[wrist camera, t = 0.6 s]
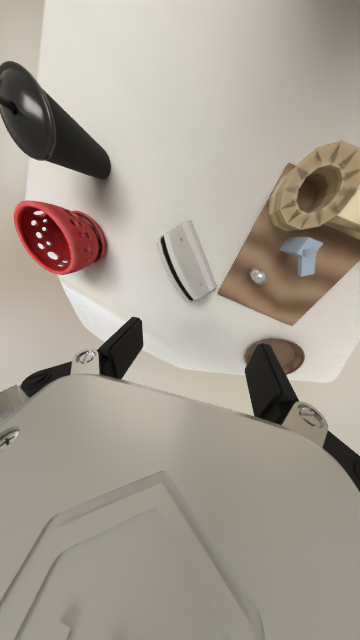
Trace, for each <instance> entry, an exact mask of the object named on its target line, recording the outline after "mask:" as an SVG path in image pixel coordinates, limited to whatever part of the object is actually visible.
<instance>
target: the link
mask: <svg viewBox="0 0 360 640" xmlns="http://www.w3.org/2000/svg"><path fill="white" fill-rule="evenodd" d="M305 180H306V181H309V182H311V183H313V185H314V187H315V190H316V193H315V198H314V202H313V203H312V204H311V206H310V207H309V209H308V210H307V211H306V212H304V211H301V210H300V209H299V207H298V204H297V202H296V200H297V195H298V189H299V188H300V186H301V185H302V183H303V181H305ZM359 183H360V149H359V148H358V147H356V146H353V145H351V144H349V143H346V142H344V141H337V142H334V143H331V144H328V145H325V146H321V147H318V148H316V149H315V150H314V151H313V152H312V153H311V154H309V155H308V156H307V157H306V158H305V159H304V160H303V161H301V162H300V163H299V164H298V165H297V166H296V167H295V168H293V169H292V170H291V171H290V172H289V173H288V174H287V175H286V176H285V177H283V178H282V179H281V180H280V181H279V183H278V184H277V186H276V188H275V190H274V192H273V194H272V195H271V197H270V200H269V210H268V216H269V218H270V220H271V222H272V224H273V226H274V227H276V228H279V229H281V230H283V231H293V230H302V229H307V228H313V227H318V226H321V225H322V224H324V225H327V226H329V227H331V228H334V229H336V230H338V231H341V232H343V233H346V234H348V235H350V236H353V237H355V238H357V239H360V190H359V189H358V186H359Z"/></svg>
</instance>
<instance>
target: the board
mask: <svg viewBox="0 0 360 640" xmlns="http://www.w3.org/2000/svg"><path fill="white" fill-rule="evenodd" d="M295 167H296V166H295V165H292V164H290V163H289V164H288V165H287V166H286V168H285V170H284V171H283V173H282V175H281V177H280V179H279V181H280V180H281V179H282V178H283V177H285V176H286V175H287V174H288V173H289V172H290V171H291V170H292V169H293V168H295ZM279 181H278V182H277V184H278V183H279ZM277 184H276V186H277ZM276 186H275V188H276ZM275 188H274V190H275ZM274 190H273V192H274ZM273 192H272V193H271V195H272V194H273ZM315 193H316V190H315V187H314V185H313V183H311V182H309V181H306V180H305V181H303V183H302V185H301V186H300V188H299V189H298V195H297V200H296V202H297V204H298V207H299V209H300V210H301V211H304V212H306V211H307V210H308V209H309V207H310V206H311V204H312V203H313V202H314V198H315ZM271 195H270V197H271ZM270 197H269V199H268V201H267V203H266V205H265V206H264V208H263V210H262V212H261V214H260V216H259V217H258V219H257V221H256V223H255V225H254V227H253V228H252V230H251V232H250V234H249V236H248V238H247V240H246V241H245V243H244V245H243V247H242V249H241V251H240V252H239V254H238V256H237V258H236V260H235V262H234V263H233V265H232V267H231V269H230V271H229V273H228V274H227V276H226V278H225V280H224V282H223V284H222V286H221V287H220V289H219V291H218V294H220V295H222V296H224V297H227V298H229V299H231V300H234V301H236V302H238V303H241V304H243V305H245V306H248V307H250V308H252V309H255V310H257V311H259V312H262V313H264V314H266V315H269V316H271V317H273V318H275V319H278V320H280V321H282V322H285V323H287V324H289V325H292V326H293V325H294V324H295V323H296V322H297V321H298V320H299V319H300V318H301V317H302V316H303V315H304V314H305V313H306V312H307V311H308V310H309V309H310V308H311V307H312V306H313V305H314V304H315V303H316V302H317V301H318V300H319V299H320V298H321V297H322V296H323V295H324V294H325V293H327V292H328V291H329V290H330V289H331V288H332V287H333V286H334V285H335V284H336V283H337V282H338V281H339V280H340V279H341V278H342V277H343V276H344V275H345V274H346V273H347V272H348V271H349V270H350V269H351V268H352V267H353V266H354V265H355V264H356V263H357V262H358V261H359V260H360V239H357V238H355V237H353V236H350V235H348V234H346V233H343V232H341V231H338V230H336V229H334V228H331V227H329V226H327V225H324V224H322V225H321V226H318V227H313V228H307V229H302V230H293V231H283V230H281V229H279V228H276V227H274V226H273V224H272V222H271V220H270V218H269V216H268V210H269V200H270ZM288 237H310V238H312V239H315V240H317V241H319V242H322V243H323V245H322V246H321V247H320V248H319V249H318V251H317V252H316V262H315V272H314V274H311V275H307V276H303V277H301V276H298V259H299V257H298V256H294V255H290V254H287V253H285V252H283V251H280V250H279V249H280V248H281V246H282V245H283V244H284V242H285V241H286V239H287V238H288ZM251 266H256V267H258V268H259V269H261V270H262V271H263V272H265V273H266V274H267V276H268V278H267V280H266V282H264V283H263V284H257V283H256V282H255V281H254V280H253V279H252V278H251V277H250V276H249V275H248V273H247V271H248V269H249V267H251Z"/></svg>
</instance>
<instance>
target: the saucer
mask: <svg viewBox="0 0 360 640" xmlns="http://www.w3.org/2000/svg"><path fill="white" fill-rule="evenodd" d="M261 343H264V344H269V345H270V346H271V347H272V349H273V351H274V353H275V355H276V357H277V359H278V361H279V363H280V365H281V367H282V368H283V370H284V372H285V374H286V375H287V374H290V373H292V372H294V371H296V370H297V369H298V368H299V367H300V366H301V365H302V364H303V362H304V358H305V355H304V352H303V350H302V348H301V347H300V346H298V345H297V344H295V343H293V342H291V341H288V340H283V339H268V340H264V341H261V342H259V343H257V344H255V345H254V346H253V347H252V348H251V349H250V350H249V351H248V353H247V355H246V363H247V364H248V362H249V360H250V358H251V356H252V354H253V352H254V350H255V348H256V346H257V345H258V344H259V345H260V344H261Z"/></svg>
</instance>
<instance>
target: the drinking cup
mask: <svg viewBox="0 0 360 640" xmlns="http://www.w3.org/2000/svg"><path fill="white" fill-rule="evenodd" d="M0 114H1V117H2V119H3V122H4V124H5V126H6V128H7V130H8V132H9V134H10V135H11V137H12V139H13V140H14V142H15V143H16V144H17V145H18V147H19V148H20V149H21V150H22V151H23V152H24V153H25V154H27V155H28V156H30V157H31V158H33V159H36V160H39V161H44V160H46V161H48V162H51V163H54V164H57V165H60V166H63V167H66V168H69V169H72V170H75V171H78V172H81V173H84V174H87V175H90V176H93V177H96V178H99V179H106V178H107V177H108V176H109V174H110V168H111V166H110V160H109V157H108V155H107V153H106V151H105V150H104V149H103V148H102V147H101V146H100V145H99V144H98V143H97V142H96V141H95V140H94V139H93V138H92V137H91V136H90V135H89V134H88V133H87V132H86V131H85V130H84V129H83V128H82V127H81V126H80V125H79V124H78V123H77V122H76V121H75V120H74V119H73V118H72V117H70V116H69V115H68V114H67V113H66V112H65V111H64V110H63V109H62V108H61V107H60V106H59V105H58V104H57V103H56V102H55V101H54V100H53V99H52V98H51V97H50V96H49V95H48V94H47V93H46V92H45V91H44V90H43V89H42V88H41V86H40V85H39V83H38V82H37V81H36V79H35V78H34V77H33V76H32V75H31V74H30V73H29V72H28V71H27V70H26V69H25V68H23V67H22V66H21V65H20V64H18V63H15V62H12V61H7V62H4V63H3V64H2V65H0Z"/></svg>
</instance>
